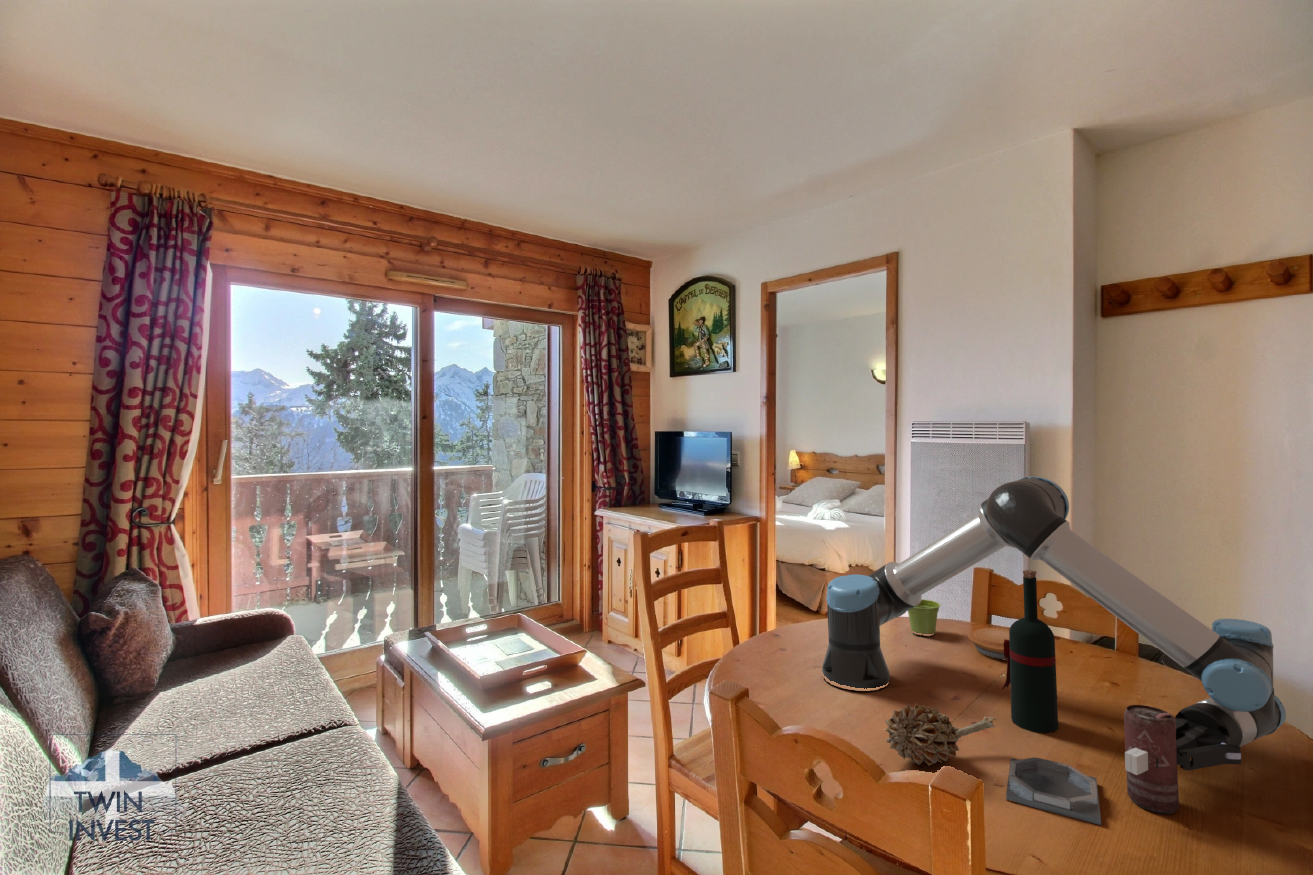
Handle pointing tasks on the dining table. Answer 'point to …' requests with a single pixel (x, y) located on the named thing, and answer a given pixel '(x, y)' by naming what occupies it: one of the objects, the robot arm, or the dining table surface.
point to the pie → (990, 641)
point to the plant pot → (924, 617)
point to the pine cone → (927, 734)
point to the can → (1153, 758)
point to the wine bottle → (1032, 666)
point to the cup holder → (1054, 788)
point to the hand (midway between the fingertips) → (1130, 763)
